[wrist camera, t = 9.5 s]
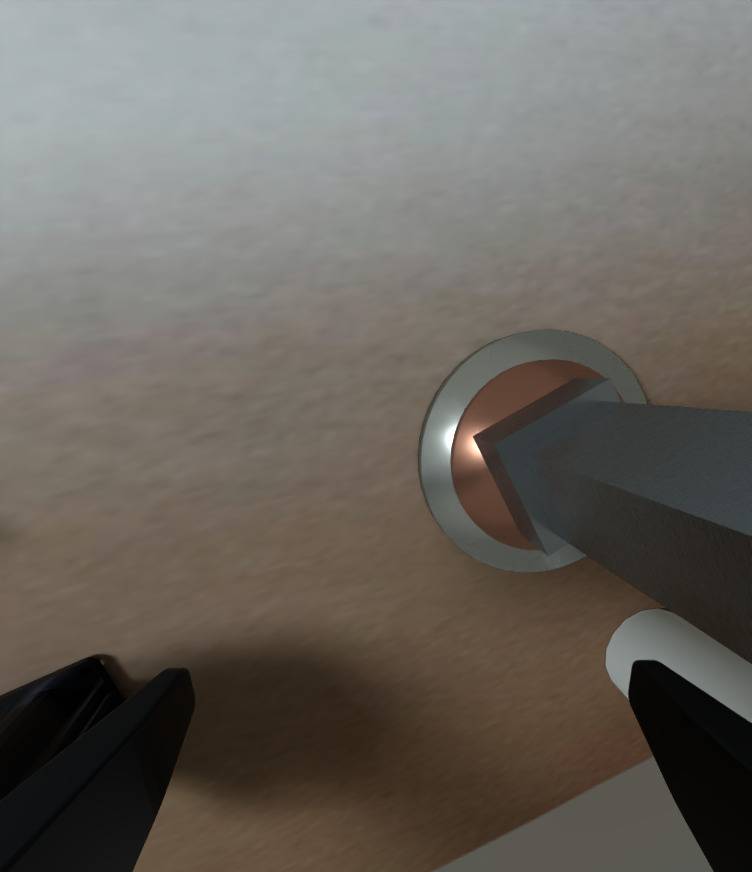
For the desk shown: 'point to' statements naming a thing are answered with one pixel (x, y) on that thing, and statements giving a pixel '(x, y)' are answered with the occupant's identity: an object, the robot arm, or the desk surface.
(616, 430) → the grey stepped block
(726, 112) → the desk surface
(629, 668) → the white cup
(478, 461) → the copper centred dish
